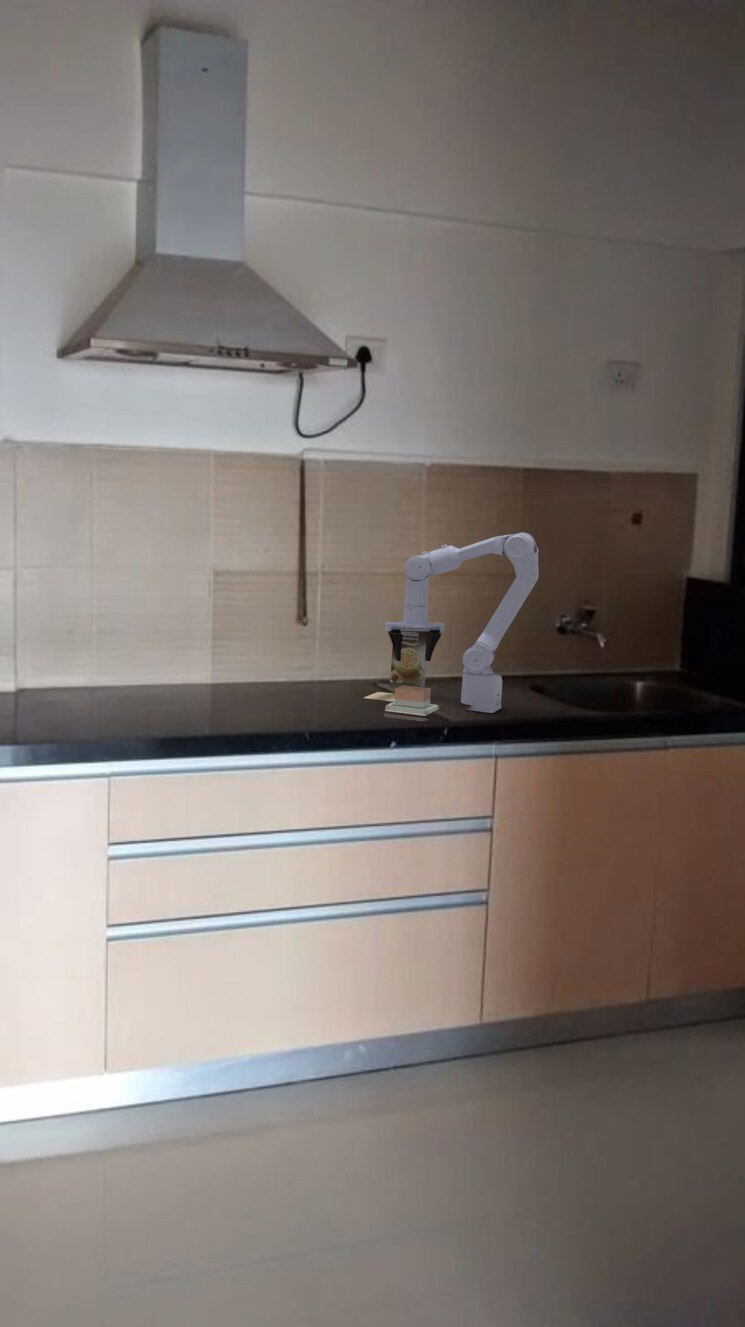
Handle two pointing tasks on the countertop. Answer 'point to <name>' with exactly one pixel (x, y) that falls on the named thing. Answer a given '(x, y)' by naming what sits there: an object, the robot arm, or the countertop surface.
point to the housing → (412, 697)
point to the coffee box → (410, 659)
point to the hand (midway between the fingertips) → (412, 660)
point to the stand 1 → (382, 696)
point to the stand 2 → (409, 712)
